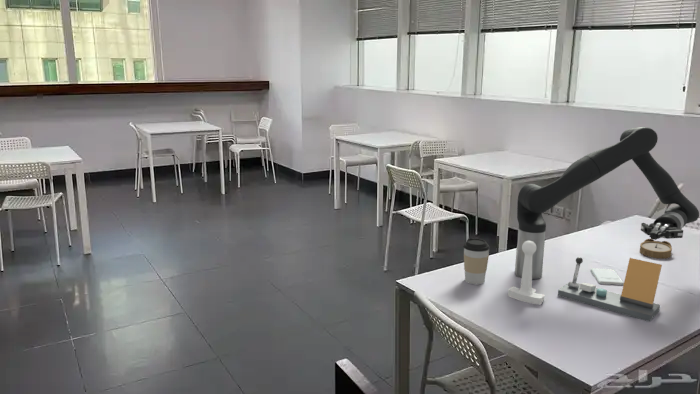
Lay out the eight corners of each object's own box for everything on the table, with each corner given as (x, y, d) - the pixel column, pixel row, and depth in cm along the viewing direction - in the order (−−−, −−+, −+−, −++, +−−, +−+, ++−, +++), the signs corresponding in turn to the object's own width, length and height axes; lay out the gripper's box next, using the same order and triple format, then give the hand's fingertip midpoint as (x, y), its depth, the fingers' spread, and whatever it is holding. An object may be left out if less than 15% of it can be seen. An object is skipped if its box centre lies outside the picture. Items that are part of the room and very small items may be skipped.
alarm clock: (637, 249, 220) (644, 233, 231) (636, 259, 222) (643, 243, 233) (670, 254, 214) (675, 238, 225) (668, 265, 216) (673, 248, 227)
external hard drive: (613, 273, 204) (623, 286, 192) (590, 272, 205) (598, 285, 193) (614, 269, 203) (624, 282, 191) (590, 268, 205) (599, 280, 193)
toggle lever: (567, 286, 184) (574, 256, 184) (569, 286, 186) (576, 256, 186) (576, 288, 182) (583, 258, 182) (578, 289, 184) (585, 258, 184)
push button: (594, 294, 178) (595, 290, 178) (598, 292, 180) (598, 287, 180) (604, 297, 176) (604, 292, 176) (607, 294, 178) (608, 290, 178)
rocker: (579, 289, 181) (580, 283, 181) (584, 287, 184) (584, 282, 184) (590, 292, 178) (591, 286, 178) (595, 290, 182) (596, 285, 181)
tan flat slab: (619, 300, 174) (629, 257, 174) (620, 300, 175) (630, 258, 175) (651, 308, 167) (661, 264, 168) (652, 309, 169) (662, 265, 169)
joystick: (506, 296, 182) (510, 239, 178) (516, 289, 188) (520, 233, 183) (539, 306, 175) (544, 246, 171) (548, 298, 181) (553, 240, 176)
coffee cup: (492, 280, 196) (495, 240, 193) (479, 287, 190) (481, 246, 186) (470, 274, 202) (472, 234, 199) (456, 281, 196) (458, 240, 192)
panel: (557, 295, 183) (558, 289, 183) (569, 286, 190) (570, 281, 190) (649, 321, 165) (650, 315, 164) (659, 310, 172) (660, 304, 171)
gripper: (648, 210, 189) (632, 220, 177) (692, 217, 181) (678, 229, 168) (646, 231, 191) (629, 243, 179) (689, 239, 182) (675, 252, 170)
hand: (653, 236), depth 174 cm, fingers closed
